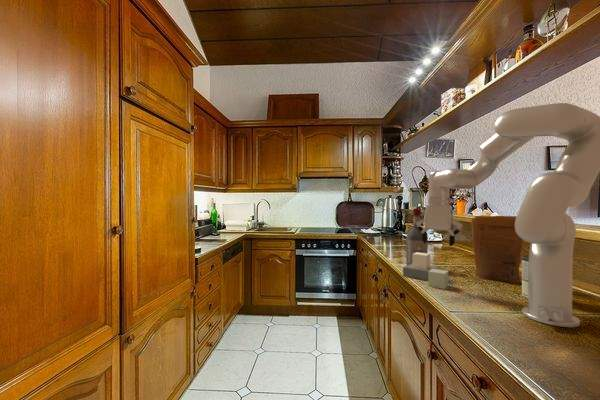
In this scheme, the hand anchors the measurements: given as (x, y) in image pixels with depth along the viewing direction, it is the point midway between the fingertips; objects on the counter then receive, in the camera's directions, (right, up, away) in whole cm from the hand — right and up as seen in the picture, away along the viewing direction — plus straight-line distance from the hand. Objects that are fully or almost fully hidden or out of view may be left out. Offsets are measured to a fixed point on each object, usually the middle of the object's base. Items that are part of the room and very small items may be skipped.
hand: (437, 244), depth 113 cm
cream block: (0, -13, +14) cm, 19 cm away
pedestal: (-1, -17, +14) cm, 22 cm away
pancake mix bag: (+30, -17, +9) cm, 36 cm away
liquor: (+4, -17, +31) cm, 36 cm away
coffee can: (+30, -17, -14) cm, 37 cm away
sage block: (0, -17, 0) cm, 17 cm away
